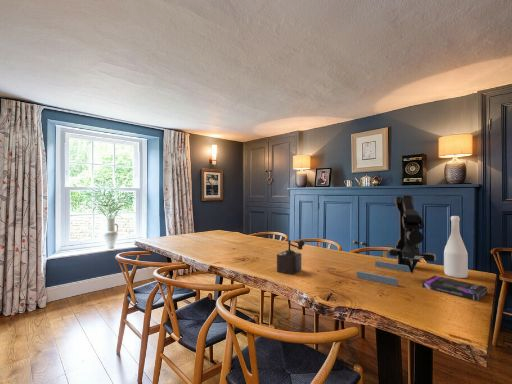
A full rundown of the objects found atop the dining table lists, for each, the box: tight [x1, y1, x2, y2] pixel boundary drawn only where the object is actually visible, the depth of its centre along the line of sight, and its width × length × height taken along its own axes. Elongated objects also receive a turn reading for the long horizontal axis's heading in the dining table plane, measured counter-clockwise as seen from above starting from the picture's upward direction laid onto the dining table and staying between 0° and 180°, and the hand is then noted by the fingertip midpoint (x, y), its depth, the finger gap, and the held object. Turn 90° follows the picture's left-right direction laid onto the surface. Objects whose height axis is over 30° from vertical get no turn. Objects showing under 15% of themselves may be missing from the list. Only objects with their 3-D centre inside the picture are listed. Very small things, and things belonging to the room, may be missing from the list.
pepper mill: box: [276, 239, 305, 275], centre depth 139 cm, size 16×11×18 cm
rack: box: [356, 260, 411, 287], centre depth 134 cm, size 28×18×3 cm, turn 138°
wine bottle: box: [443, 215, 469, 279], centre depth 132 cm, size 10×10×30 cm
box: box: [421, 275, 488, 302], centre depth 112 cm, size 14×4×20 cm
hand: (412, 272), depth 126 cm, fingers closed
